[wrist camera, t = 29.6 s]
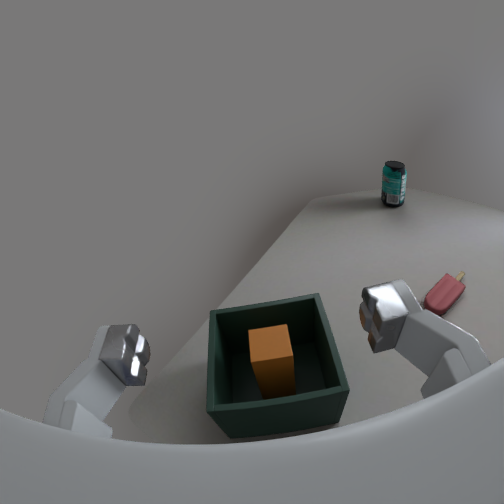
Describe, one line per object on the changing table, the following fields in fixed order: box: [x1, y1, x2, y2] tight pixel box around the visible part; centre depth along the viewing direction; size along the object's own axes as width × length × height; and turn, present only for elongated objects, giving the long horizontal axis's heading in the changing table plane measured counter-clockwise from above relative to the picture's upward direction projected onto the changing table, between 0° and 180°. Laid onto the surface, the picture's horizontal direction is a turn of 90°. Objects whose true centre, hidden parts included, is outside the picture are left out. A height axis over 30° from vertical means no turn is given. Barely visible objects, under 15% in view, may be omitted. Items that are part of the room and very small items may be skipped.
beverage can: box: [381, 161, 406, 207], centre depth 70 cm, size 7×7×12 cm
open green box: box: [207, 293, 350, 439], centre depth 33 cm, size 15×15×11 cm
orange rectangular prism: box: [248, 324, 296, 400], centre depth 33 cm, size 4×4×11 cm
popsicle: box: [424, 271, 465, 315], centre depth 43 cm, size 5×2×15 cm
